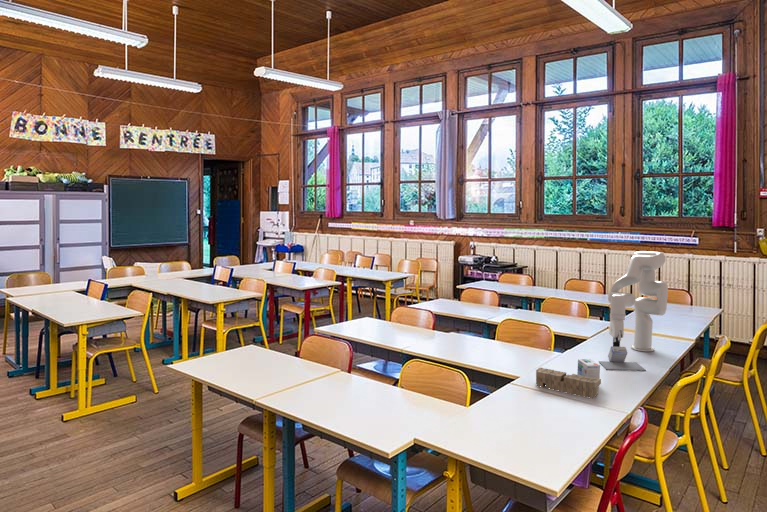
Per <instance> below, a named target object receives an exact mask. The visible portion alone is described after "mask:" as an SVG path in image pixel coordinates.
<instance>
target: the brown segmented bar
mask: <svg viewBox="0 0 767 512" xmlns="http://www.w3.org/2000/svg"><path fill="white" fill-rule="evenodd" d="M535 377H536V378H535V379H536V380H535V384H537V385H536V387H537V386H541V387H540V388H542V387H543V386H544V387H545V389H546V388H550V389H554V390H553V391H555V390H559V391H562V392H561V393H564V392H567V393H566V394H568V393H571V394H570V395H573V394H576V395H575V396H577V395H580V396H579V397H582V396H585V397H584V398H587V397H590V398H589V399H591V398H592V397H594V396H595V395H596V396H597V395H598V394H599V393H598V392H599V389H598V388H599V387H600V386H601V384H602V379H601V378H600V379H598V378H591V377H586V376H582V375H577V374H576V373H572V374H567V372H566V371H565V372H564V371H558V370H555V369H550V368H544V367H539V368H537V369H535ZM545 385H546V386H545ZM598 386H599V387H598ZM544 387H543V388H544ZM550 389H549V390H550ZM559 391H558V392H559ZM596 396H595V397H596ZM595 397H594V398H595ZM592 399H593V398H592Z"/></svg>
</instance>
